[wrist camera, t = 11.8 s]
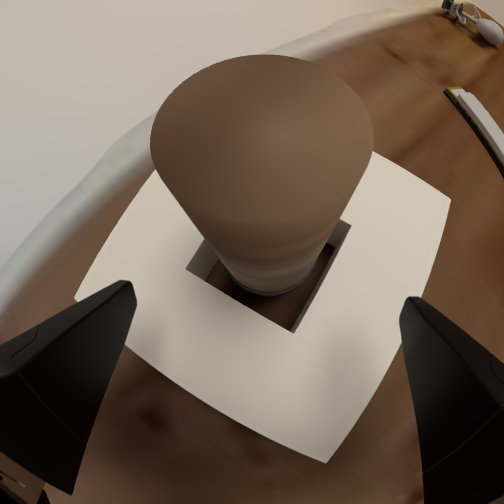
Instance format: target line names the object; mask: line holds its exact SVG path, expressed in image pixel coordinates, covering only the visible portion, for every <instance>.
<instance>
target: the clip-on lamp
mask: <svg viewBox="0 0 504 504" xmlns="http://www.w3.org/2000/svg"><path fill="white" fill-rule="evenodd" d="M453 1H454V0H444V1H443V4H442V8H443V9H445V10H447V13H446V14H449V13H451V14H454V12H455V11H456V14H457V15H456V14H454V15H456V16H457V17H456V19H457V20H458V18H459V20H460V22H461V23H462V24H463V25H464V24H465V23H466V21H467V20H470V21H472V22H474V23H475V24H476V27H477V30H478V31H479V32H480V33H481V35H482V36H483V38H484V39H485V40H486V41H487V42H489V43H490V44H493V45H499V44H501V43H502V41H503V39H504V35H503V32H502V29H501V28H500V27H499V26H498V25H497V24H496V23H495V22H493V21H490V20H486V19H481V16H480V14H479V12H478V10H477V8H476V7H475V6H474V11H475V9H476V11H477V13H478V15H479V17H480V19H477V16H476V19H477V20H476V19H475V16H472V17H471V16H470V15H468V14H466V13H465V12H463V11H462V10H463V7H462V6H463V4H462V3H461V6H459V5H458V4H456V3H455V2H453ZM457 5H458V6H459V7H460V8H459V11H458V10H456V6H457ZM461 15H462V16H464V17H463V18H462V19H461V17H460V16H461ZM475 15H476V12H475ZM465 17H466V18H467V19H465ZM462 20H463V21H464V23H463V21H462Z"/></svg>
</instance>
